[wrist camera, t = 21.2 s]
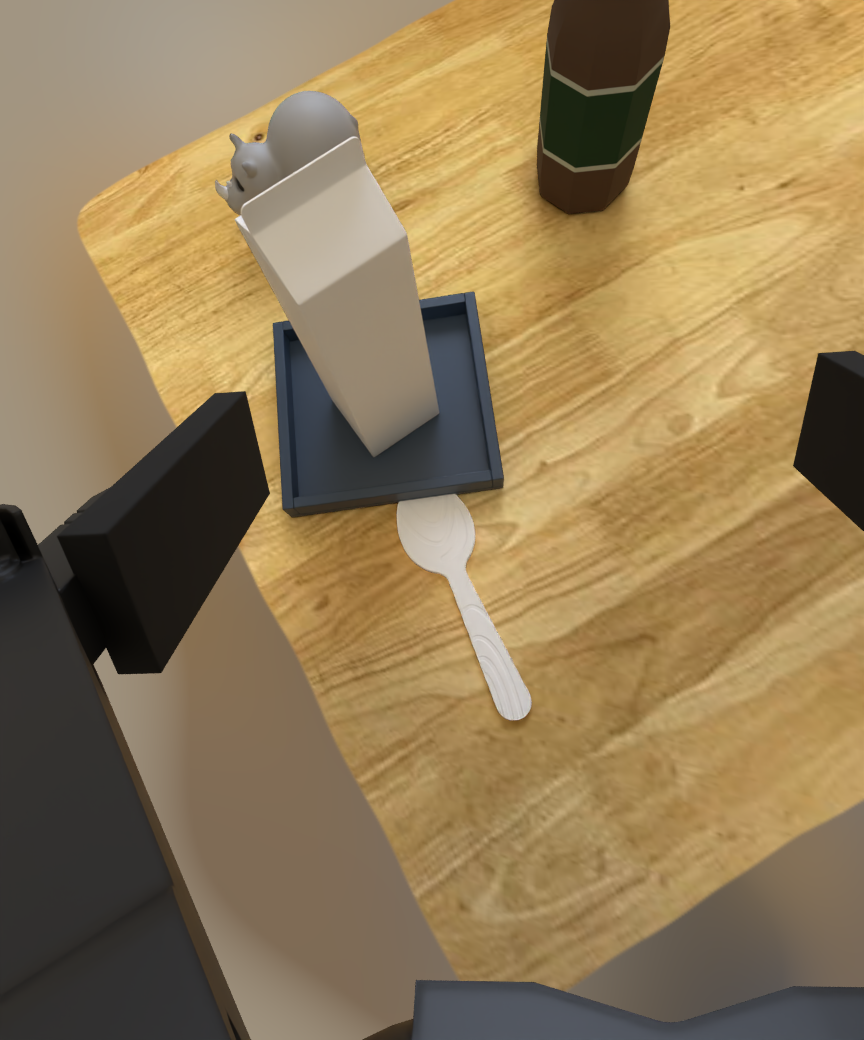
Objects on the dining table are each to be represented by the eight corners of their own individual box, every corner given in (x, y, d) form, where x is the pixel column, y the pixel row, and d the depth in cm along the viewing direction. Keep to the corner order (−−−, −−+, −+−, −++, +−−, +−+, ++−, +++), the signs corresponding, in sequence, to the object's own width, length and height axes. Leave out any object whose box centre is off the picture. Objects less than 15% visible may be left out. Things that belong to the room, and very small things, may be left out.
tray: (475, 307, 49) (474, 290, 47) (503, 488, 45) (503, 478, 43) (281, 337, 50) (272, 322, 48) (291, 517, 46) (282, 509, 44)
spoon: (483, 735, 40) (483, 736, 40) (381, 496, 45) (380, 494, 45) (558, 702, 41) (559, 702, 40) (448, 467, 46) (447, 464, 45)
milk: (331, 400, 47) (199, 162, 26) (397, 356, 48) (319, 88, 27) (375, 460, 46) (271, 257, 24) (442, 414, 46) (397, 176, 25)
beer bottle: (614, 227, 50) (723, -175, 27) (520, 206, 51) (547, -195, 28) (640, 151, 51) (763, -289, 28) (549, 132, 53) (595, -303, 30)
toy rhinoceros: (227, 202, 54) (180, 114, 46) (355, 149, 54) (331, 52, 46) (252, 265, 52) (208, 186, 44) (385, 210, 52) (365, 121, 44)
